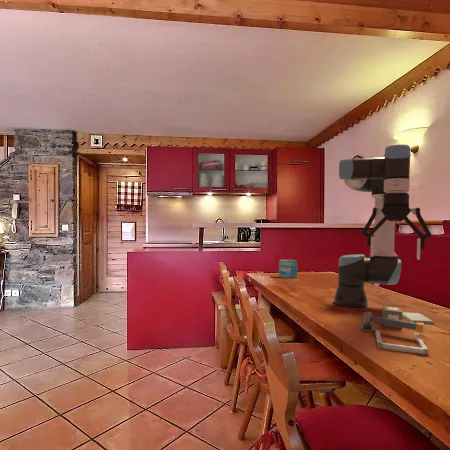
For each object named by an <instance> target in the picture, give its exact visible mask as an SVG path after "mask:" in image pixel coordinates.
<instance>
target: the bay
mask: <svg viewBox="0 0 450 450" xmlns="http://www.w3.org/2000/svg"><path fill="white" fill-rule="evenodd" d="M374 335H375V339H376V344H377V348H378V349H380V350H388V351H396V352H403V353H411V354H418V355H424V356H429V349H428V348H427V345H426V344H425V342H424V340H423V338H422V337H421V335H420V333H419V332H414V334H413V337H414V340H415V341H416V343H417V345H418V347H417V346H411V345H410V346H409V345H404V344H395V343H387V342H383V341H382V337H381V336H382V335H381V331H380V328H377V327H375V332H374Z"/></svg>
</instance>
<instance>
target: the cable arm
mask: <svg viewBox="0 0 450 450" xmlns="http://www.w3.org/2000/svg"><path fill="white" fill-rule="evenodd" d="M373 323H375V324H379V325H383V326H384V325H389V326H395V327H394V328H397V327H401V328H400V329H402V328H403V329H407V330H413V331H416V332H417V333H419V332H420V333H424V331H425V324H424V323H420V322H417V323H415V322H410V321H408V320H403V319H402V320H397V319H391V318H385V317H383V316H379V315H373V316H372V324H373ZM389 326H388V327H389Z"/></svg>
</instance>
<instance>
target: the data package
mask: <svg viewBox="0 0 450 450" xmlns="http://www.w3.org/2000/svg"><path fill="white" fill-rule="evenodd" d="M278 261H279V262H278V276H279V278H281V279H296V278H298V261H297V260H294V259H280V260H278Z"/></svg>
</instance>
